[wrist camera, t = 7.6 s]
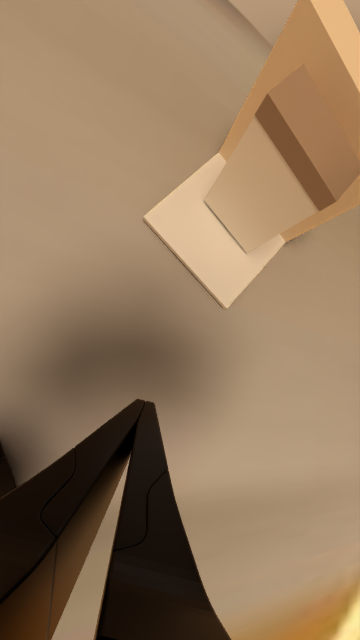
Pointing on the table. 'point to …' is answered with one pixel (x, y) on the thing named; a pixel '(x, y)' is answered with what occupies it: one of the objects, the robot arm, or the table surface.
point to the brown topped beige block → (284, 164)
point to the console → (188, 199)
